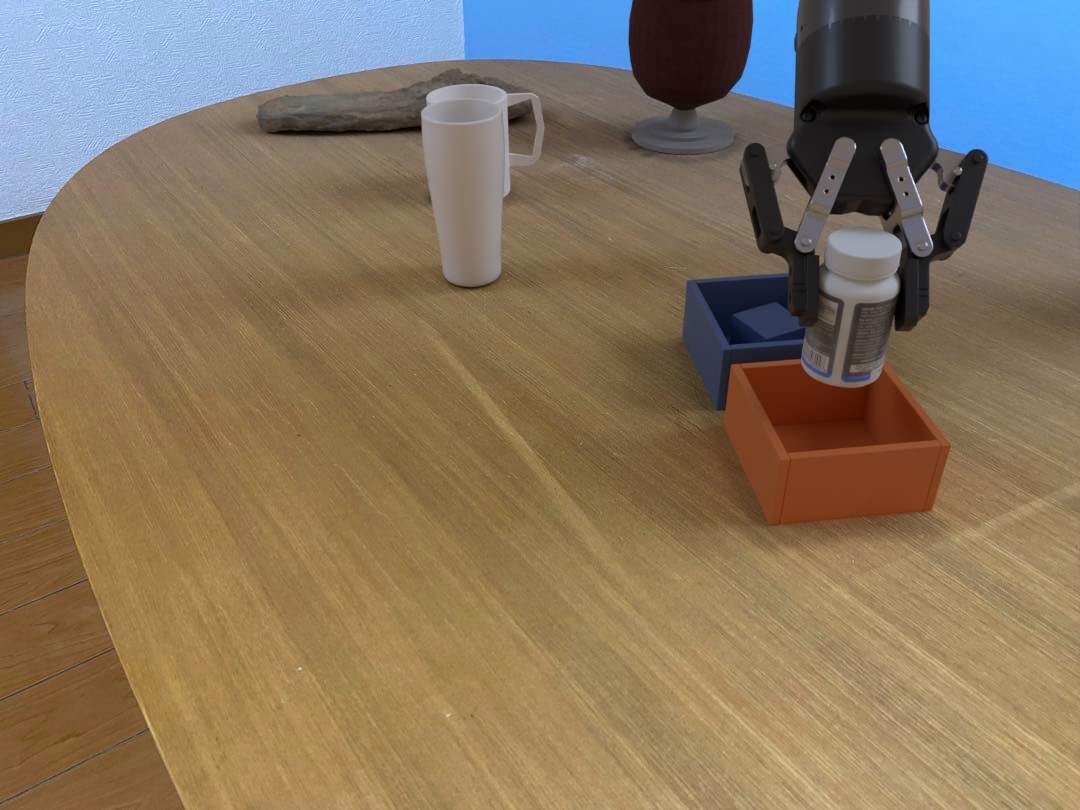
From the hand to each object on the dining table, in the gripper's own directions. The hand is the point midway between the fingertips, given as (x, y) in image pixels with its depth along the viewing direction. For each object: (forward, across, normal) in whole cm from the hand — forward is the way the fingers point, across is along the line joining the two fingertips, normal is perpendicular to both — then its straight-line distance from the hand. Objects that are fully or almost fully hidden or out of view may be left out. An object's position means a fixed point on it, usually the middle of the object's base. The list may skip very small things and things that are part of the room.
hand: (857, 324), depth 53 cm
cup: (-25, -29, +42) cm, 57 cm away
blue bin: (-1, -3, +18) cm, 18 cm away
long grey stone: (-39, -44, +58) cm, 82 cm away
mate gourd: (-37, -7, +55) cm, 67 cm away
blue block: (-1, -3, +18) cm, 18 cm away
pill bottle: (+2, 0, +4) cm, 5 cm away
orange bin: (+7, 0, +10) cm, 12 cm away
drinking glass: (-10, -27, +28) cm, 41 cm away
